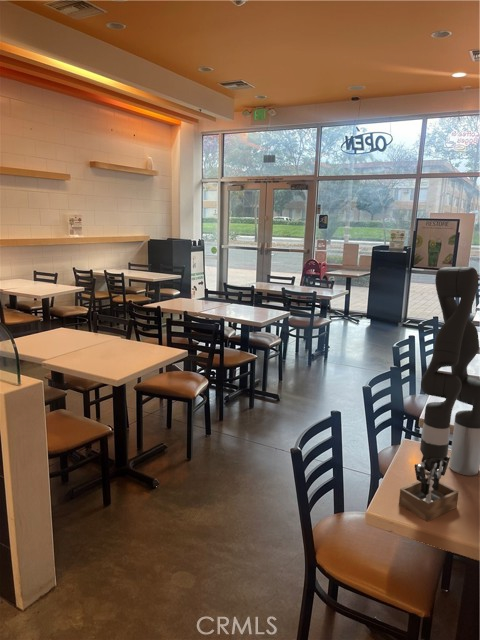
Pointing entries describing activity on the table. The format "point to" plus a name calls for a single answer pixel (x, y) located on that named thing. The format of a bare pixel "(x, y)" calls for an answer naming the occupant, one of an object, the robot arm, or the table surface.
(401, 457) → the table surface
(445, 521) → the table surface
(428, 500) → the chess piece
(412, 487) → the walnut box
